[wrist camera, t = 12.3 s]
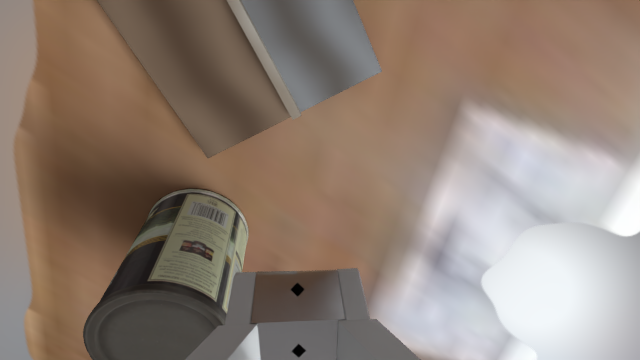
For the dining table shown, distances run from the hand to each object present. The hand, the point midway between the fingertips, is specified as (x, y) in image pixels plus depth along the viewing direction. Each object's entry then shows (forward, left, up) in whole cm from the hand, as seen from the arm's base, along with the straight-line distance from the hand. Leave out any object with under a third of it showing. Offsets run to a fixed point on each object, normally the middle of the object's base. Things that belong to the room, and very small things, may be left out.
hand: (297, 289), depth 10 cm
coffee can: (+16, +10, -27) cm, 33 cm away
